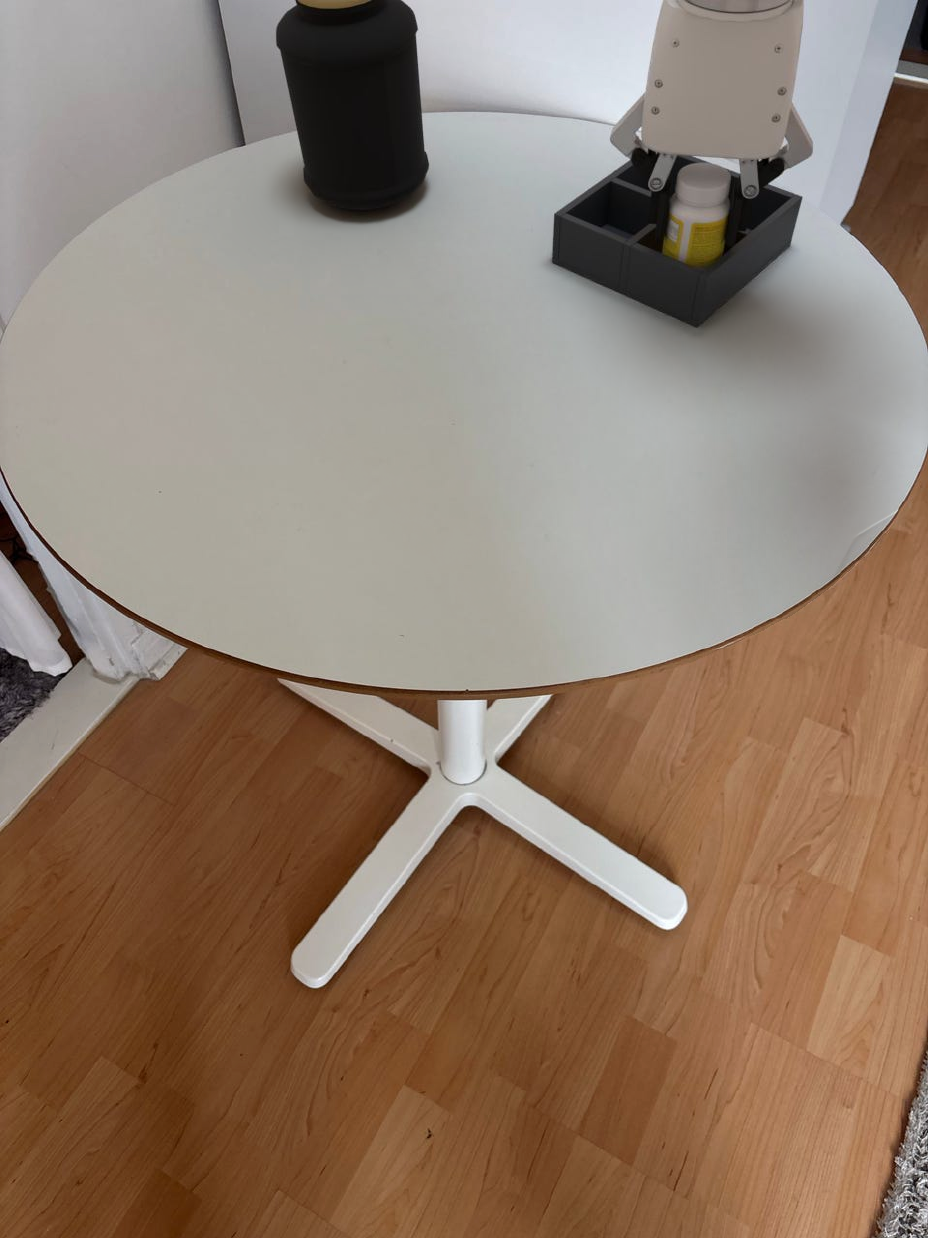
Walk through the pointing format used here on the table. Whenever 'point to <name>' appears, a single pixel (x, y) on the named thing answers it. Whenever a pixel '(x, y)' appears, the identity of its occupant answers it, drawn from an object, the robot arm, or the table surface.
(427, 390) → the table surface
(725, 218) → the supplement bottle
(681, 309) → the box
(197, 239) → the table surface
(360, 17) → the container
